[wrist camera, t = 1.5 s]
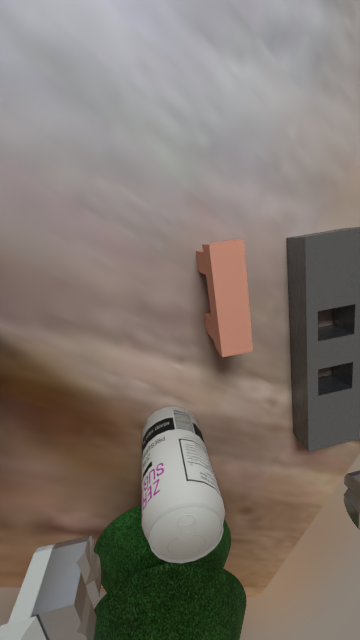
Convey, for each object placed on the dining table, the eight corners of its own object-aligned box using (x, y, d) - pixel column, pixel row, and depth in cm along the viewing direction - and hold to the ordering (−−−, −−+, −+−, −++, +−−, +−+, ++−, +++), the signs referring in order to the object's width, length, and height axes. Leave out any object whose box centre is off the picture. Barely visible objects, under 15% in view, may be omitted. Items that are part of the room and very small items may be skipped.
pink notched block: (195, 244, 32) (208, 244, 25) (222, 240, 32) (243, 238, 26) (207, 336, 36) (222, 357, 29) (232, 331, 36) (252, 351, 29)
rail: (286, 238, 33) (305, 237, 30) (344, 228, 34) (370, 226, 30) (293, 433, 42) (308, 451, 38) (339, 421, 43) (359, 439, 39)
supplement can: (197, 448, 40) (228, 559, 26) (143, 454, 39) (144, 574, 25) (197, 401, 38) (231, 494, 24) (140, 406, 37) (139, 508, 23)
